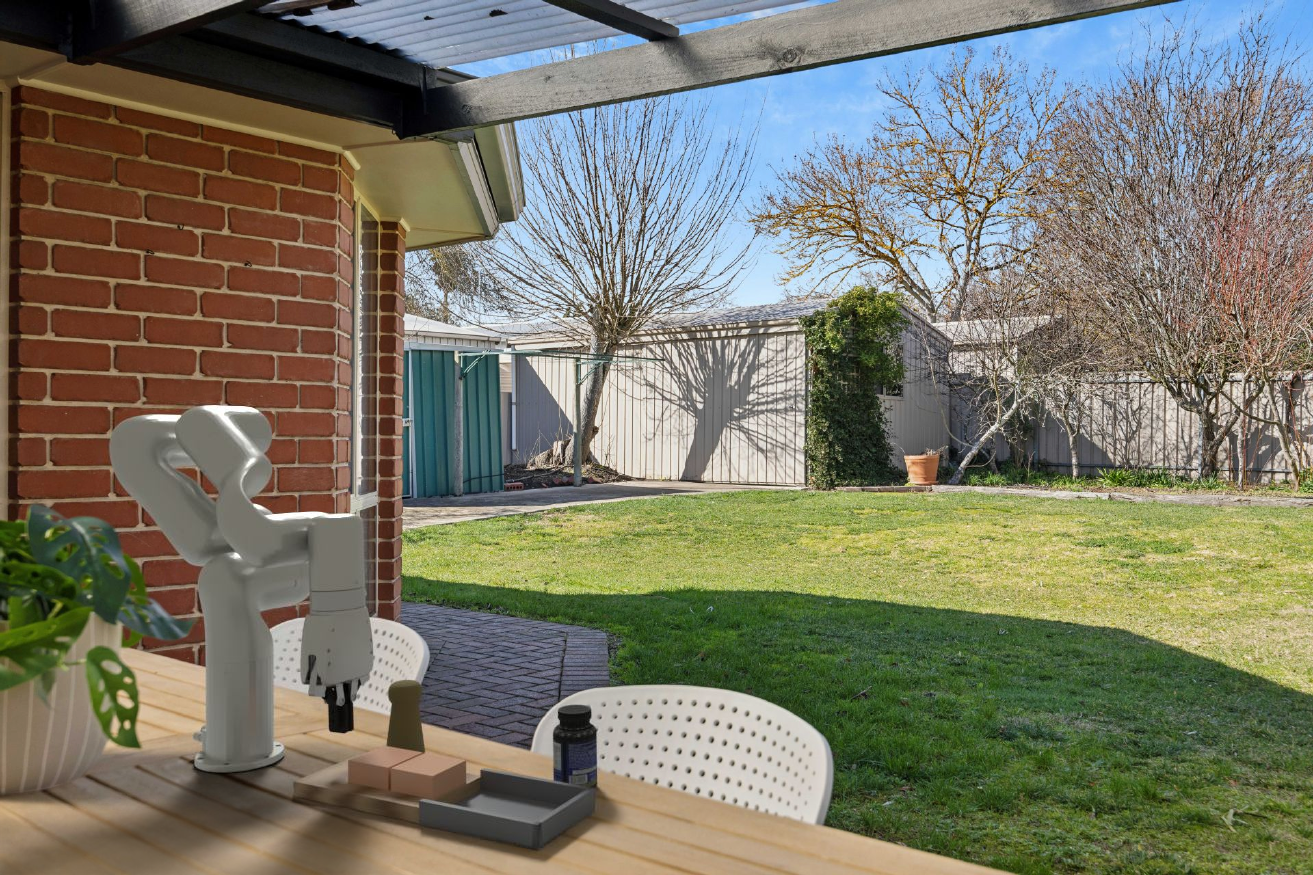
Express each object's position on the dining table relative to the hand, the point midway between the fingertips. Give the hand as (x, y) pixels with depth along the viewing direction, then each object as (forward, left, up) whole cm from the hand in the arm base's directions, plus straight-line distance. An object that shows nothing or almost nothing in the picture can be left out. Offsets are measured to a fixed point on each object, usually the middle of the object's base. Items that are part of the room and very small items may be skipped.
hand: (341, 730), depth 138 cm
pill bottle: (+31, +13, -8) cm, 34 cm away
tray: (+28, 0, -8) cm, 29 cm away
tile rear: (+8, 0, -5) cm, 10 cm away
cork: (-1, +15, -8) cm, 17 cm away
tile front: (+16, 0, -5) cm, 17 cm away
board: (+9, 0, -8) cm, 11 cm away
